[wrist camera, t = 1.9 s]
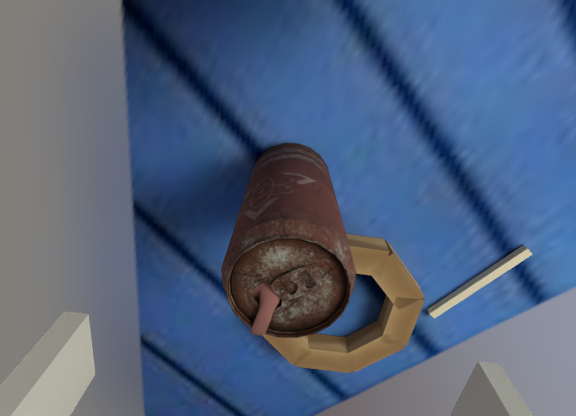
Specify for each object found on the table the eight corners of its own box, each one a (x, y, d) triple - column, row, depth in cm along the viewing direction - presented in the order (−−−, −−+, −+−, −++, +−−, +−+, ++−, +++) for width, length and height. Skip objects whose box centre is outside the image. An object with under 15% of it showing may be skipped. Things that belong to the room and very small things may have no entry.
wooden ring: (270, 223, 29) (269, 235, 28) (432, 245, 30) (441, 258, 28) (253, 344, 35) (251, 361, 33) (388, 361, 36) (393, 378, 34)
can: (241, 202, 29) (200, 328, 16) (266, 129, 26) (241, 210, 13) (310, 225, 29) (323, 363, 17) (341, 157, 27) (384, 258, 14)
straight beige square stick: (432, 314, 33) (434, 318, 33) (427, 309, 33) (429, 313, 32) (528, 250, 30) (532, 254, 30) (523, 244, 30) (527, 248, 29)
